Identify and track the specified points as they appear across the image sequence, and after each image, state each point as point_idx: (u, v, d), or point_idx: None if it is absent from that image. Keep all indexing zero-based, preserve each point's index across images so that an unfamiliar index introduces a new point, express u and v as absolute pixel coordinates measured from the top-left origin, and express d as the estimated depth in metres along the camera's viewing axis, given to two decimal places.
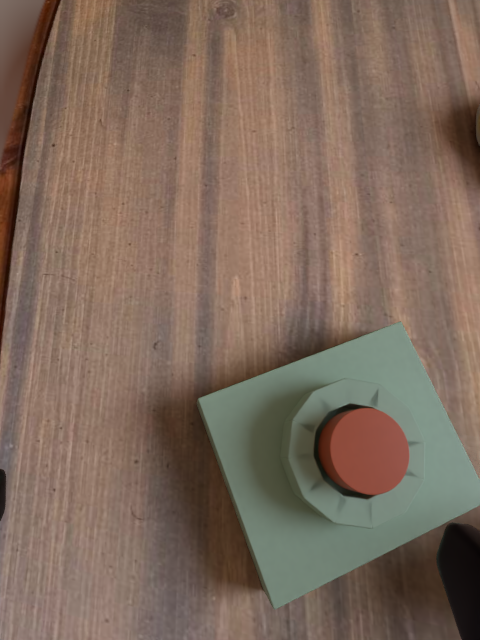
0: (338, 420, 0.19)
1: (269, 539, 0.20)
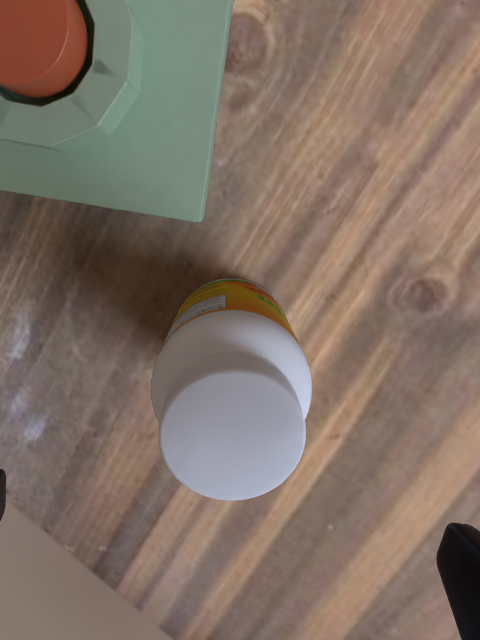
0: None
1: None
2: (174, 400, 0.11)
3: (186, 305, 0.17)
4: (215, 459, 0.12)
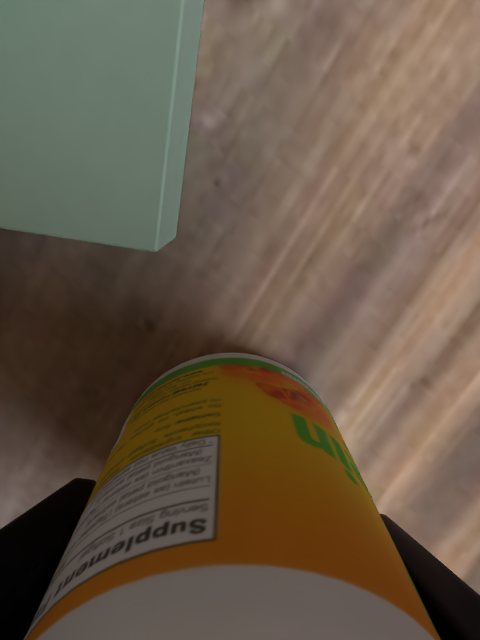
0: None
1: None
2: None
3: (130, 436, 0.08)
4: None
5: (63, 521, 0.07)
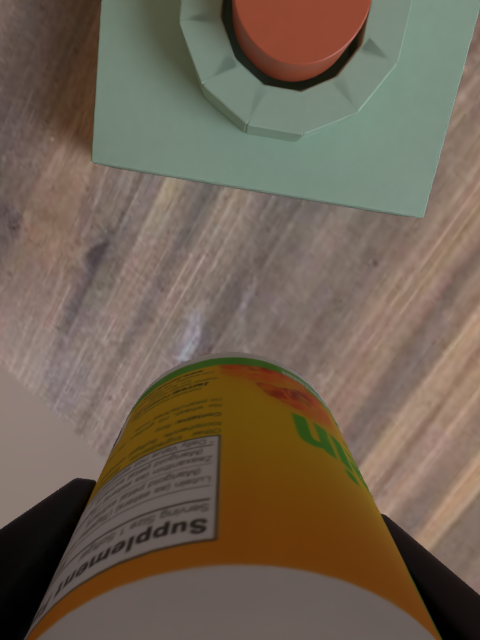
0: None
1: (124, 81, 0.14)
2: None
3: (130, 436, 0.08)
4: None
5: (63, 521, 0.07)
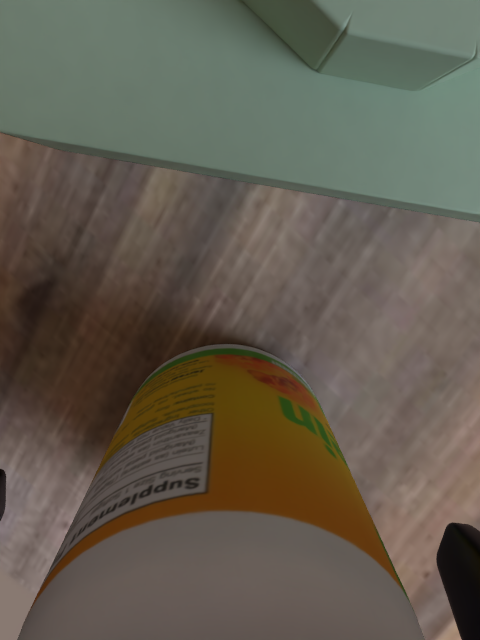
0: None
1: None
2: None
3: (133, 417, 0.09)
4: None
5: None
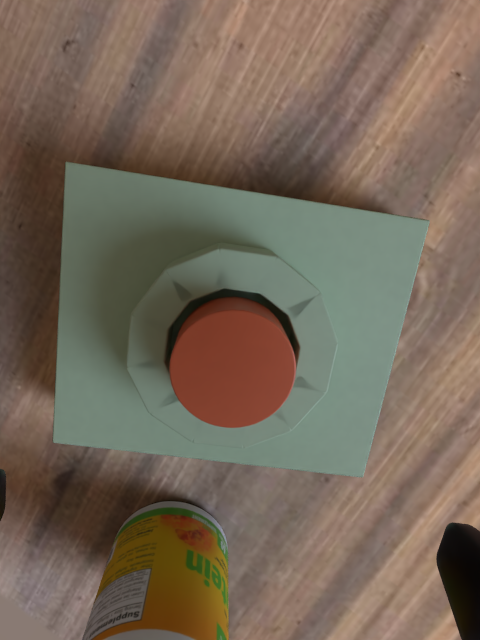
0: (215, 311, 0.12)
1: (81, 379, 0.15)
2: None
3: (116, 560, 0.17)
4: None
5: None
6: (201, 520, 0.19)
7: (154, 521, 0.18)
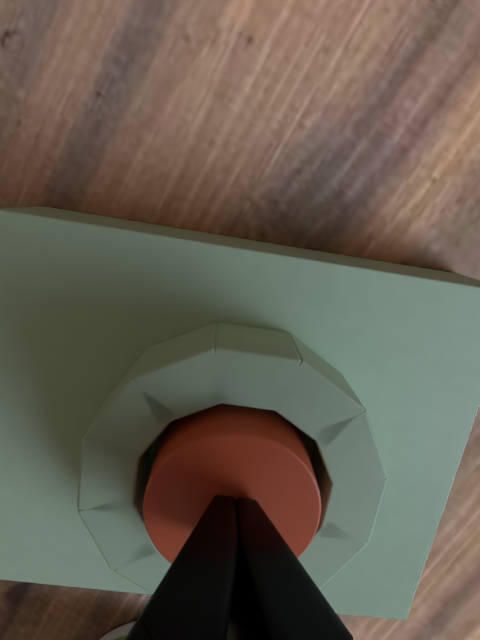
0: (208, 433, 0.08)
1: (24, 500, 0.11)
2: None
3: None
4: None
5: (232, 540, 0.07)
6: None
7: None
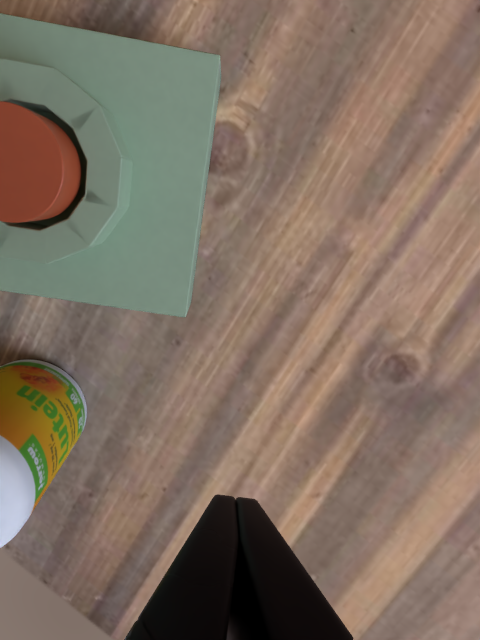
0: None
1: None
2: None
3: None
4: None
5: (232, 540, 0.07)
6: (53, 373, 0.20)
7: (5, 369, 0.20)
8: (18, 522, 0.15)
